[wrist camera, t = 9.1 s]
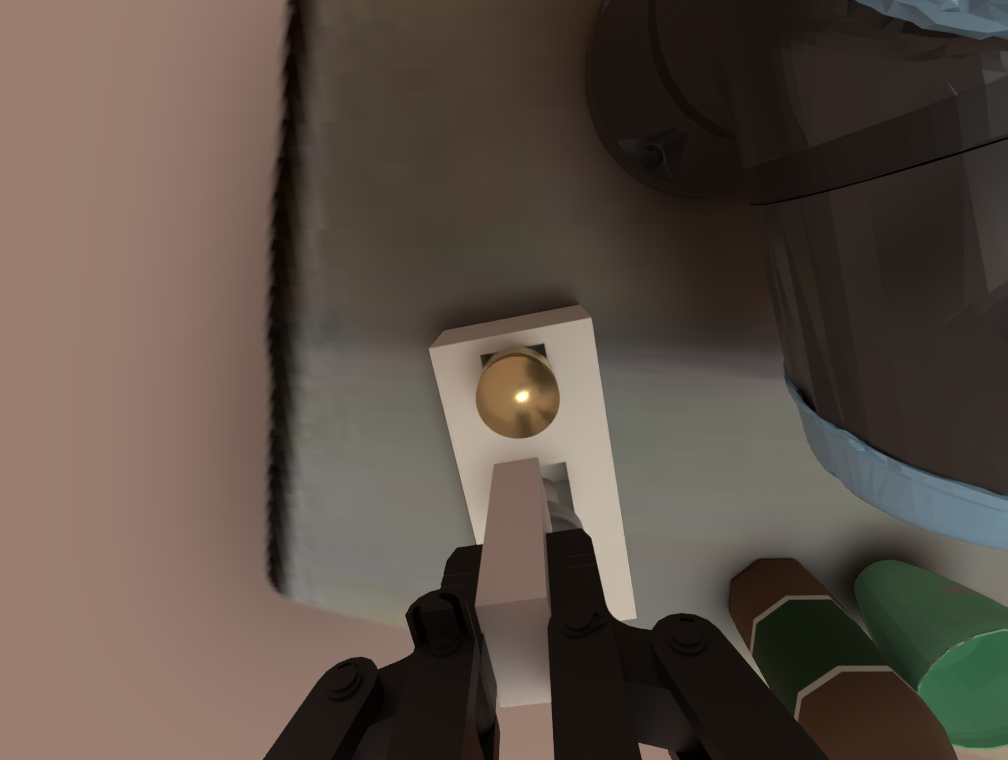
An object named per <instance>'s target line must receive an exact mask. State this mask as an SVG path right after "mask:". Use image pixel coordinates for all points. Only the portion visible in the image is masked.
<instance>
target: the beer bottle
mask: <svg viewBox="0 0 1008 760" xmlns="http://www.w3.org/2000/svg"><path fill="white" fill-rule="evenodd" d="M729 612H730V615H731V617H732V619H733V621H734V623H735V625H736V628H737V629H738V631H739V633H740V635H741V637H742V639H743V640H744V642H745V644H746V646H747V648H748V649H749V651H750V653H751V655H752V657H753V659H754V660H755V662H756V664H757V666H758V668H759V669H760V671H761V673H762V675H763V677H764V679H765V680H766V682H767V684H768V686H769V688H770V689H771V691H772V692H773V693H774V695H775V696H776V697H777V698H778V699H779V701H780V702H781V703H782V704H783V705H784V706H785V708H786V709H787V710H788V711H789V712H790V713H791V715H792V716H793V717H794V718H795V719H796V721H797V722H798V723H799V724H800V725H801V726H802V728H803V729H804V730H805V731H806V732H807V733H808V735H809V736H810V737H811V738H812V739H813V741H814V742H815V743H816V744H817V745H818V746H819V748H820V749H821V750H822V751H823V752H824V753H825V755H826V756H827V757H828V758H829V759H830V760H958V758H957V756H956V753H955V751H954V749H953V747H952V744H951V742H950V740H949V737H948V735H947V733H946V730H945V728H944V727H943V725H942V724H941V723H940V721H939V720H938V719H937V717H936V716H935V715H934V714H933V712H932V711H931V710H930V708H929V707H928V706H927V704H926V703H925V702H924V700H923V699H922V698H921V697H920V696H919V694H918V693H917V692H916V691H915V690H914V689H913V688H912V686H911V685H910V684H909V683H908V682H907V681H906V679H905V678H904V677H903V676H902V675H901V674H900V673H899V671H898V670H897V669H896V668H895V667H894V666H893V664H892V663H891V662H890V661H889V660H888V659H887V658H886V656H885V655H884V654H883V653H882V652H881V651H880V649H879V648H878V647H877V646H876V645H875V644H874V643H873V641H872V640H871V639H870V638H869V637H868V636H867V635H866V633H865V632H864V631H863V630H862V629H861V628H860V626H859V625H858V624H857V623H856V622H855V621H854V620H853V618H852V617H851V616H850V615H849V614H848V613H847V611H846V610H845V609H844V608H843V607H842V606H841V605H840V603H839V602H838V601H837V600H836V599H835V598H834V597H833V596H832V594H831V593H830V592H829V591H828V590H827V589H826V588H825V587H824V586H823V585H822V584H821V583H820V582H819V581H818V580H817V579H816V578H815V577H813V576H812V575H811V574H810V573H809V572H808V571H807V570H806V569H805V568H804V567H803V566H802V565H801V564H800V563H799V562H798V561H796V560H758V561H757V562H756V563H754V564H753V565H752V566H750V567H749V568H748V569H746V570H745V571H744V572H743V573H741V574H740V575H739V576H737V577H736V578H735V579H733V580H732V589H731V598H730V608H729Z"/></svg>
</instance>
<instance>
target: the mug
mask: <svg viewBox="0 0 1008 760" xmlns="http://www.w3.org/2000/svg"><path fill="white" fill-rule="evenodd" d="M854 592H855V595H856V599H857V602H858V605H859V608H860V611H861V614H862V617H863V620H864V623H865V625H866V627H867V630H868V632H869V634H870V637H871V639H872V641H873V643H874V644H875V645H876V646H877V647H878V648H879V649H880V651H881V652H882V653H883V654H884V655H885V656H886V658H887V659H888V660H889V661H890V662H891V663H892V664H893V666H894V667H895V668H896V669H897V670H898V671H899V673H900V674H901V675H902V676H903V677H904V678H905V679H906V681H907V682H908V683H909V684H910V685H911V686H912V688H913V689H914V690H915V691H916V692H917V693H918V694H919V696H920V697H921V698H922V699H923V700H924V702H925V703H926V704H927V706H928V707H929V708H930V710H931V711H932V712H933V714H934V715H935V716H936V717H937V719H938V720H939V721H940V723H941V724H942V725H943V727H944V728H945V730H946V733H947V735H948V737H949V740H950V742H951V744H952V746H956V747H960V748H964V749H996V748H1001V747H1006V746H1008V608H1007V607H1005V606H1003V605H1002V604H1000V603H998V602H996V601H994V600H992V599H990V598H988V597H986V596H984V595H982V594H980V593H978V592H976V591H974V590H972V589H970V588H968V587H966V586H963V585H961V584H959V583H956V582H954V581H952V580H949V579H947V578H945V577H942V576H940V575H938V574H935V573H933V572H930V571H927V570H924V569H922V568H919V567H916V566H913V565H910V564H907V563H904V562H901V561H897V560H882V561H878V562H874V563H873V564H871V565H869V566H867V567H866V568H865V569H864V570H863V571H861V572H860V573H859V575H858V577H857V578H856V580H855V584H854Z"/></svg>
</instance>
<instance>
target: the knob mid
mask: <svg viewBox="0 0 1008 760" xmlns="http://www.w3.org/2000/svg"><path fill="white" fill-rule="evenodd" d="M542 480H543V485H544V490H545V495H546V500H547V505H548V510H549V516H550V521H551V526H552V532H557V531H564V530H571V529H577V528H582V529H583V530H584V528H583V525H582V522H581V520H580V519H579V517H578V516H577V515H576V513H574V512H573V511H572V510H571V509H570V508H568V507H567V506H565V505H563V504H560V503H559V501H558V494H557V488H556V486H555V484H554V483H553V482H552V481H551V480H549V479H547V478H542Z"/></svg>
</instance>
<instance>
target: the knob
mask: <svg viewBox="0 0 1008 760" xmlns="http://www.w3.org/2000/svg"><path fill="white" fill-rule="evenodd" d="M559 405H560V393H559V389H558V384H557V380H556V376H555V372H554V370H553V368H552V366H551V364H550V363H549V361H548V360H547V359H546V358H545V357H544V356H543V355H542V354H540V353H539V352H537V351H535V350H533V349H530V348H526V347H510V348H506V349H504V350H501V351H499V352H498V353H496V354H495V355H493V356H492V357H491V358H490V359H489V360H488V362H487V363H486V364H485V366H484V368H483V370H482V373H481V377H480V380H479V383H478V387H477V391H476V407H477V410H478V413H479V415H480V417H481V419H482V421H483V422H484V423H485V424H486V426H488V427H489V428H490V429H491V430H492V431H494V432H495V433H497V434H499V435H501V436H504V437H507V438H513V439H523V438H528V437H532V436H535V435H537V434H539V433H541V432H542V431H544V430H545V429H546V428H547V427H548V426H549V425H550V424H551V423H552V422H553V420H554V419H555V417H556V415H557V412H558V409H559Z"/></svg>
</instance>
